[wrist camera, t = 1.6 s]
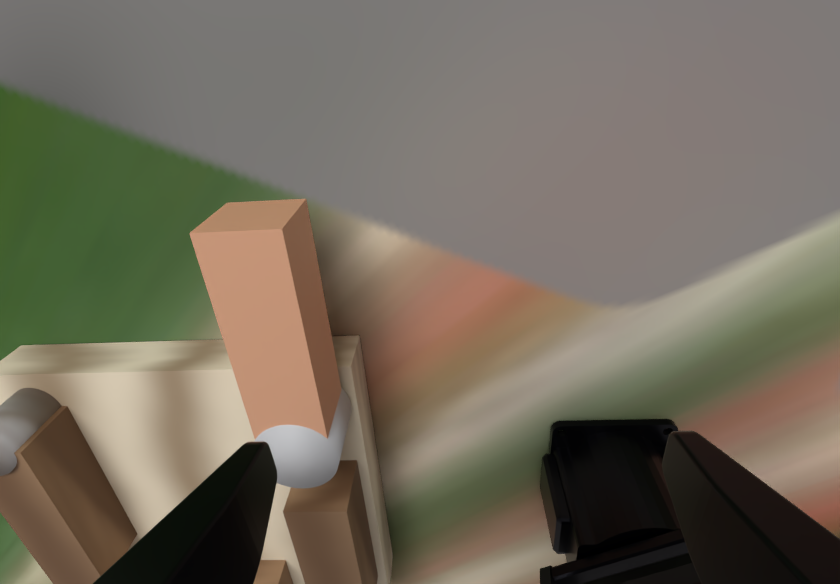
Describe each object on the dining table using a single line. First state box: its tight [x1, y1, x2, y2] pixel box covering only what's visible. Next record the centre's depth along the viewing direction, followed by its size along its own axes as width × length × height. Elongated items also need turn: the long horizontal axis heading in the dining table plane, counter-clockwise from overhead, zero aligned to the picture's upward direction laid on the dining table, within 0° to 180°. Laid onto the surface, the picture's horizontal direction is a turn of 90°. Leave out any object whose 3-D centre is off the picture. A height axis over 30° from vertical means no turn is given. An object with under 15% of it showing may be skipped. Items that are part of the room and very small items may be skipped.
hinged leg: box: [190, 199, 352, 488], centre depth 19 cm, size 12×4×3 cm, turn 4°
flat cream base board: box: [0, 335, 393, 584], centre depth 26 cm, size 18×18×6 cm
